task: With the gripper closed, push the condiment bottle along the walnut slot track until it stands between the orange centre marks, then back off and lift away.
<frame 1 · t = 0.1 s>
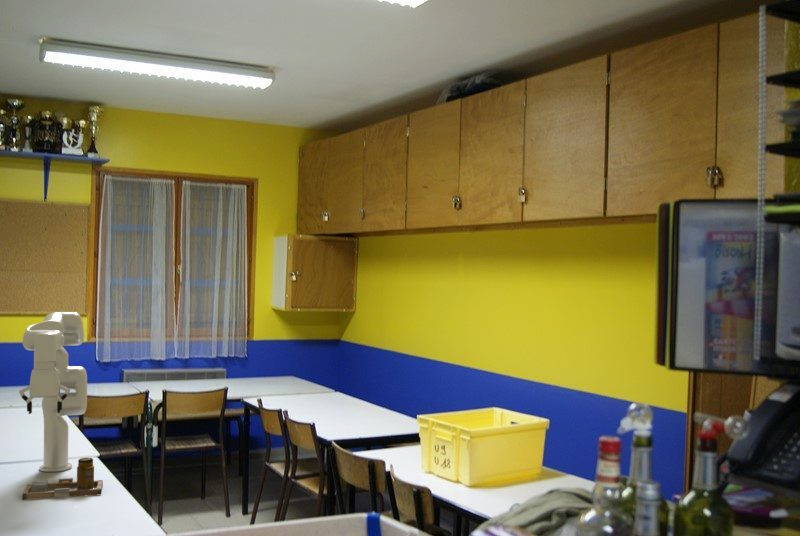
hand: (44, 412, 306), 31 cm above the table, tool pointing down, fingers open, 9 cm apart
condiment: (85, 491, 315), resting in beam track
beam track: (63, 492, 313), on the table
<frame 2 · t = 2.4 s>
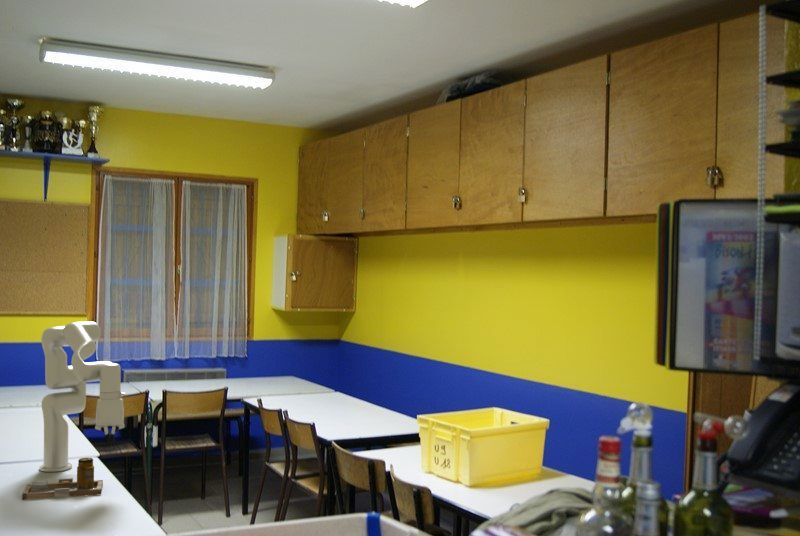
hand: (109, 444, 318), 17 cm above the table, tool pointing down, fingers closed
nothing on the table moved.
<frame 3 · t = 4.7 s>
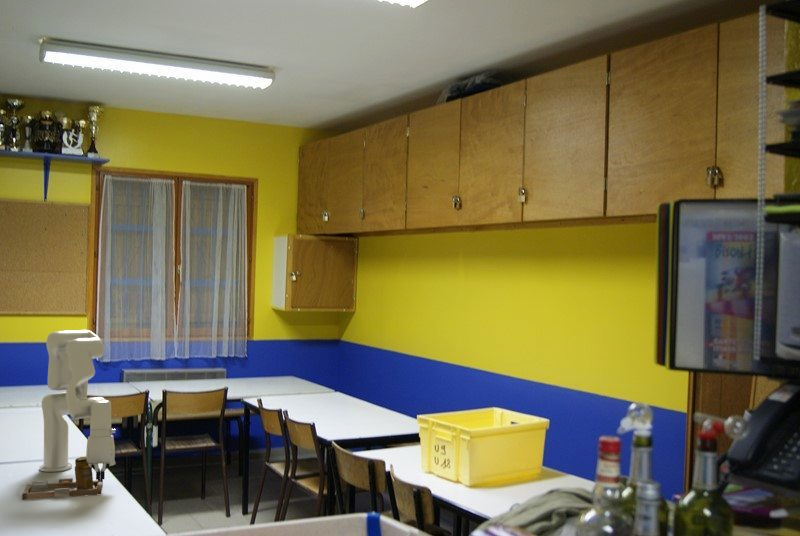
hand: (100, 481, 317), 3 cm above the table, tool pointing down, fingers closed
condiment: (85, 490, 315), resting in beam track, touching gripper
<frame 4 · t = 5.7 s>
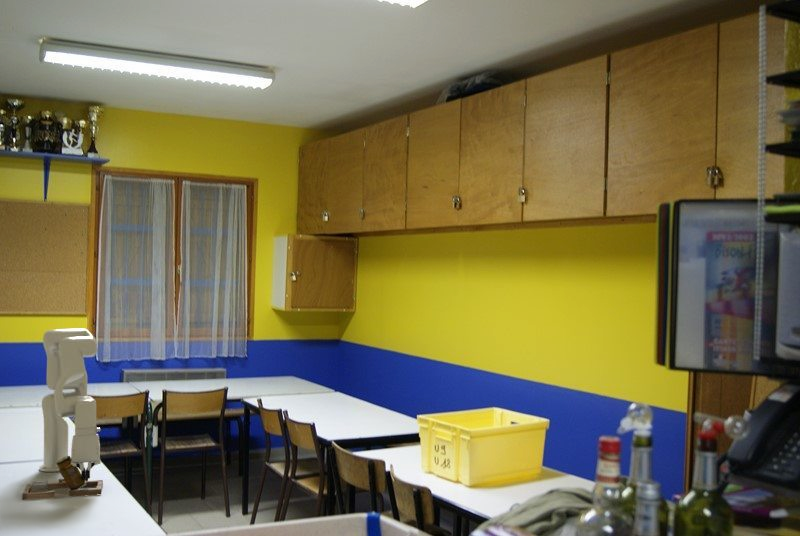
hand: (85, 480, 314), 4 cm above the table, tool pointing down, fingers closed
condiment: (77, 487, 314), point 1 cm above the table, touching gripper
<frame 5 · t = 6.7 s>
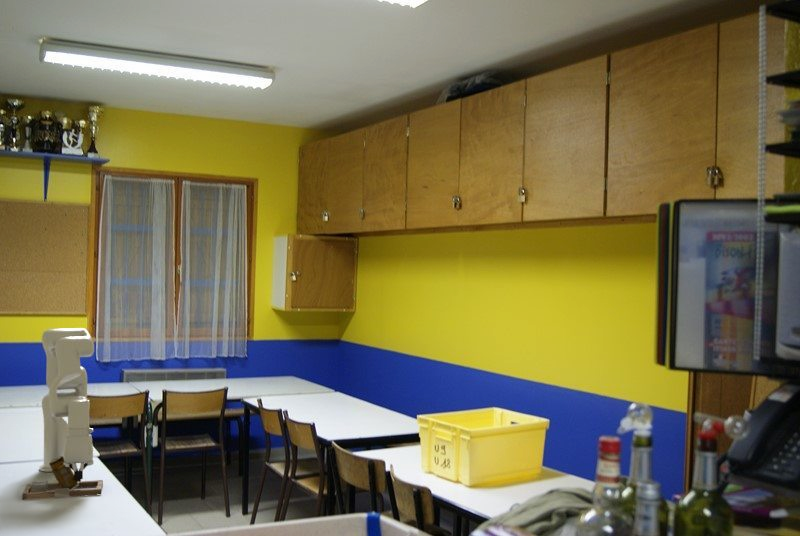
hand: (78, 481, 314), 4 cm above the table, tool pointing down, fingers closed
condiment: (70, 488, 314), point 1 cm above the table, touching gripper
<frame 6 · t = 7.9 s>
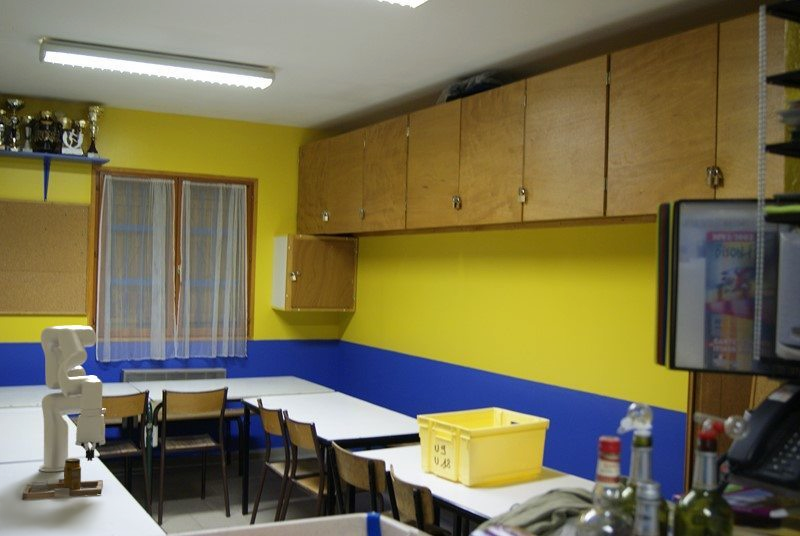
hand: (89, 459, 317), 11 cm above the table, tool pointing down, fingers closed
condiment: (71, 492, 314), resting in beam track
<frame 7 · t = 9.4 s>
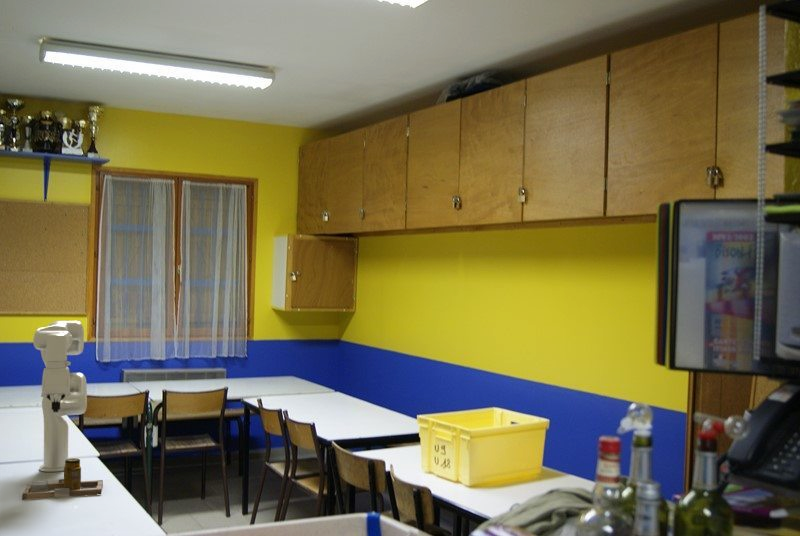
hand: (55, 411, 327), 28 cm above the table, tool pointing down, fingers closed
nothing on the table moved.
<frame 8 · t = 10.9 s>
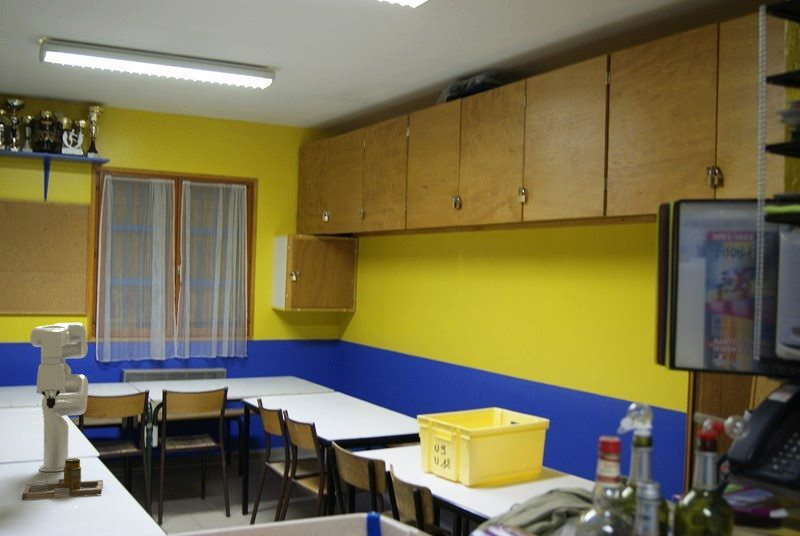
hand: (50, 407, 328), 29 cm above the table, tool pointing down, fingers closed
nothing on the table moved.
at the end: condiment inside the target area (2.8 cm from its centre), resting in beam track; condiment tilted 0°; condiment moved 4.7 cm from its start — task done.
